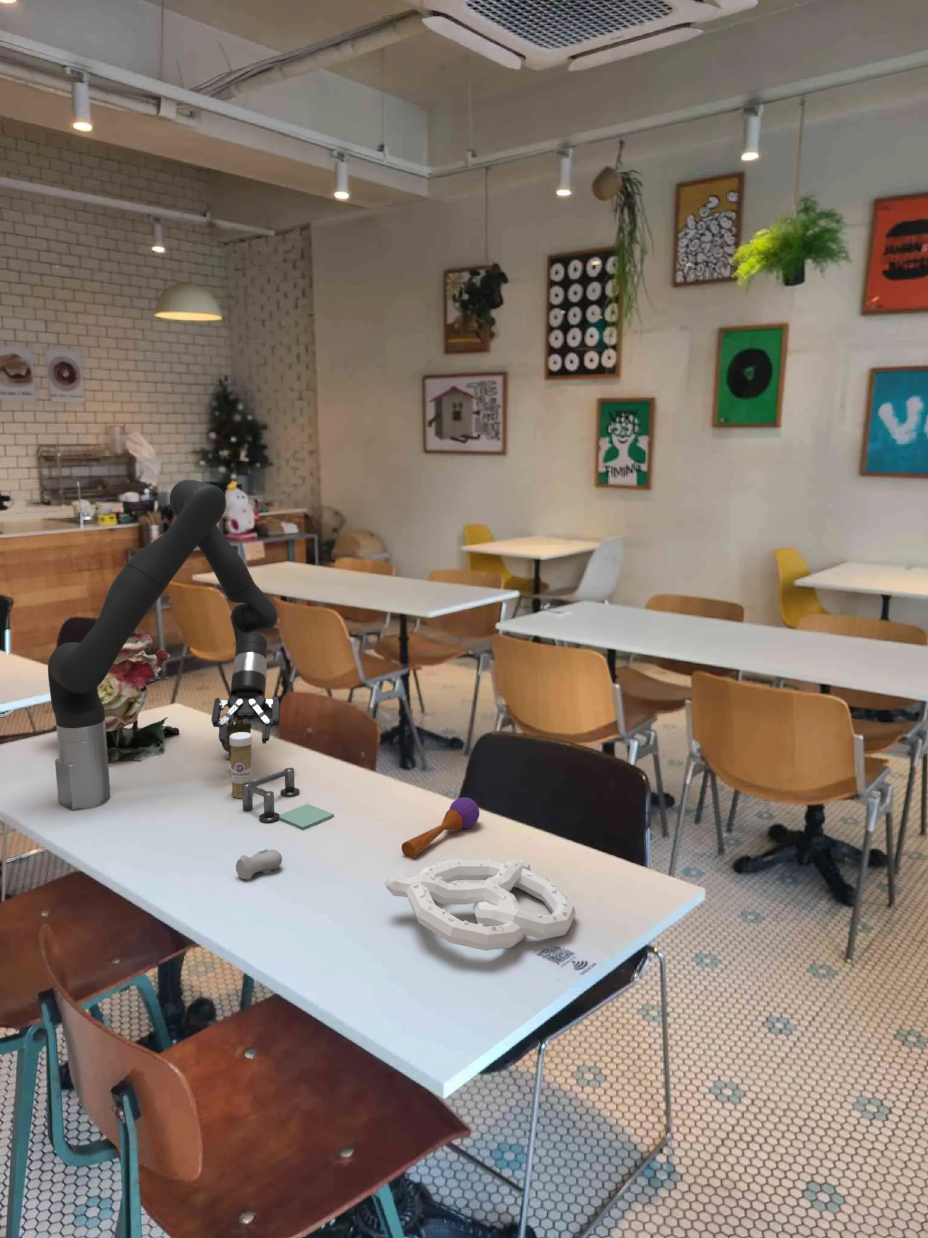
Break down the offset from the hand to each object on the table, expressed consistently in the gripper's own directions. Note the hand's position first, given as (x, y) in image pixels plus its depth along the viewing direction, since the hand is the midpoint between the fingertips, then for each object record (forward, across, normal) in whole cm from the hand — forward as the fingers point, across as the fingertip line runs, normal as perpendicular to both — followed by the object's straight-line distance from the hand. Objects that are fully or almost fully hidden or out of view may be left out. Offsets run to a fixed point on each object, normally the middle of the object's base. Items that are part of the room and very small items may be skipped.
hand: (243, 742), depth 189 cm
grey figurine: (+35, +8, -20) cm, 41 cm away
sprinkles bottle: (+10, 0, +5) cm, 11 cm away
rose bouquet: (-11, -35, +26) cm, 45 cm away
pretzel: (+48, +46, -33) cm, 74 cm away
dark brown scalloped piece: (-6, -5, +21) cm, 23 cm away
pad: (+19, +14, -5) cm, 24 cm away
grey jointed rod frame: (+15, +8, -1) cm, 17 cm away
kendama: (+28, +41, -12) cm, 51 cm away
